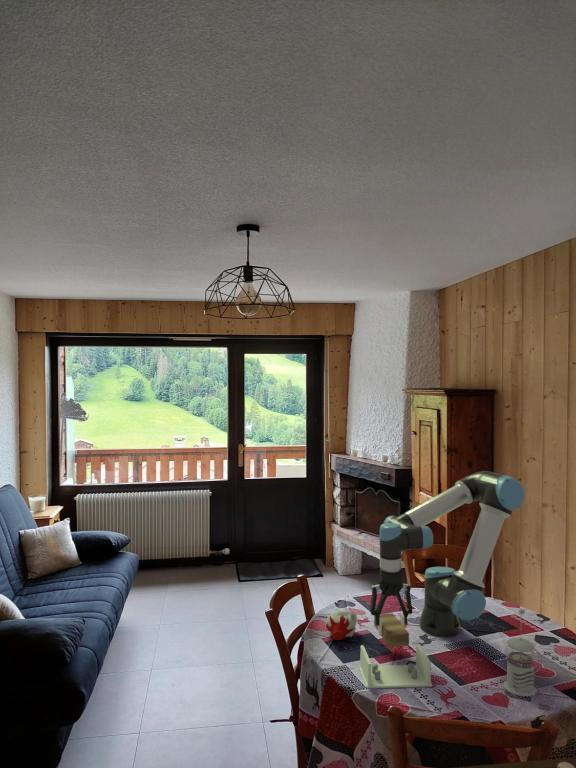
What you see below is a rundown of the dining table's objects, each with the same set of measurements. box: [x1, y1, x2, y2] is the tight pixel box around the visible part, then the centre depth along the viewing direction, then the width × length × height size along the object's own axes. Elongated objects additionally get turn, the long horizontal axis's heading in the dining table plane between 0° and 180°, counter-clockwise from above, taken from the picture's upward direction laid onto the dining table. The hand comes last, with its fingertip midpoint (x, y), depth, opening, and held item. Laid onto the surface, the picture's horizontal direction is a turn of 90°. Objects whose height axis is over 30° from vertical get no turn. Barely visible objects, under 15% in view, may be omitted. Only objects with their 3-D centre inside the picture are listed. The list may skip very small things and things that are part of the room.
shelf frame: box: [358, 643, 433, 689], centre depth 179 cm, size 21×12×8 cm, turn 94°
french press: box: [503, 608, 543, 697], centre depth 174 cm, size 10×12×25 cm
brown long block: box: [373, 612, 410, 648], centre depth 194 cm, size 16×7×4 cm, turn 9°
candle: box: [325, 610, 358, 641], centre depth 206 cm, size 9×11×15 cm
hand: (391, 633), depth 193 cm, fingers closed on brown long block, 7 cm apart
